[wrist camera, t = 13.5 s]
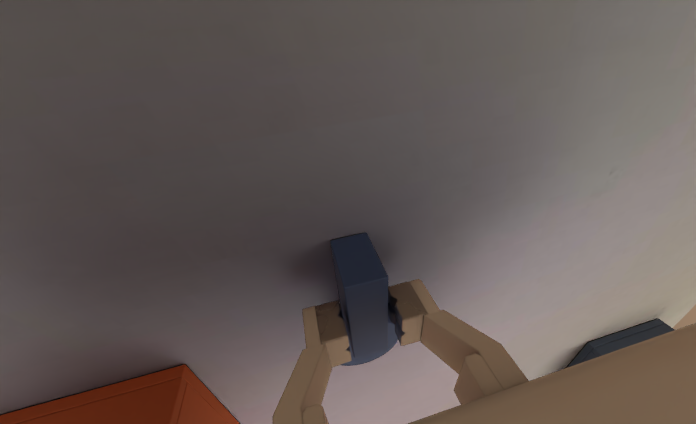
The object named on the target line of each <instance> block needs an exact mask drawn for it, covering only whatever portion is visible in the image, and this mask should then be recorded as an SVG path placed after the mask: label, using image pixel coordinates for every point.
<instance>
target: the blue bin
mask: <svg viewBox="0 0 696 424" xmlns="http://www.w3.org/2000/svg"><path fill="white" fill-rule="evenodd" d="M671 331H674V329H673V328H671V327H670V326H668V325H667V324H665V323H664V322H663V321H661V320H660V319H656V320H653V321H650V322H647V323H644V324H641V325H638V326H635V327H632V328H629V329H626V330H623V331H620V332H617V333H614V334H611V335H608V336H605V337H602V338H600V339H597V340H594V341H591V342H588V343H587V344H586V345H585V347H584V348H583V349H582V350H581V351H580V352H579V354H578V355H577V356H576V357H575V358H574V360H573V361H572V362H571V363H570V364H569V366H568V367H571V366H574V365H577V364H579V363H582V362H585V361H588V360H591V359H594V358H597V357H599V356H602V355H605V354H608V353H611V352H614V351H617V350H619V349H622V348H625V347H628V346H631V345H634V344H637V343H639V342H642V341H645V340H648V339H651V338H654V337H657V336H659V335H662V334H665V333H668V332H671ZM568 367H567V368H568Z"/></svg>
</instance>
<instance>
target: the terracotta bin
mask: <svg viewBox="0 0 696 424" xmlns="http://www.w3.org/2000/svg"><path fill="white" fill-rule="evenodd" d="M0 424H240V423H239V422H238V421H237V420H236V419H235V418H234V417H233V416H232V415H231V414H230V413H229V411H228V410H227V409H226V408H225V407H224V406H223V405H222V404H221V403H220V402H219V401H218V400H217V398H216V397H215V396H214V395H213V394H212V393H211V392H210V391H209V390H208V389H207V388H206V387H205V385H204V384H203V383H202V382H201V381H200V380H199V379H198V378H197V377H196V376H195V375H194V373H193V372H192V371H191V370H190V369H189V368H188V367H187V366H186V365H181V366H178V367H174V368H170V369H167V370H163V371H159V372H156V373H152V374H148V375H145V376H141V377H138V378H134V379H130V380H127V381H123V382H119V383H116V384H112V385H109V386H105V387H101V388H98V389H94V390H90V391H87V392H83V393H80V394H76V395H72V396H69V397H65V398H61V399H58V400H54V401H50V402H47V403H43V404H40V405H36V406H32V407H29V408H25V409H21V410H18V411H14V412H11V413H7V414H3V415H0Z"/></svg>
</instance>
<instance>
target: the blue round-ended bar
mask: <svg viewBox="0 0 696 424" xmlns="http://www.w3.org/2000/svg"><path fill="white" fill-rule="evenodd" d="M330 243H331V249H332V255H333V262H334V268H335V274H336V280H337V286H338V292H339V298H340V304H341V311H342V317H343V319H344V322H345V326H346V331H347V335H348V340H349V348H350V352H351V359H352V361H350V362H347V363H344V364H341V365H345V366H351V365H359V364H363V363H367V362H370V361H372V360H374V359H377V358H379V357H380V356H382V355H384V354H385V353H386V352H388V351H389V350H390V349H391V348H392V347H393V346H394V345H395V343H396V342H397V340H398V338H397V335H396V333H395V324H394V323H392V322H391V321H390V319H389V316H388V275H387V273H386V271H385V269H384V267H383V265H382V263H381V261H380V259H379V257H378V255H377V253H376V251H375V249H374V247H373V245H372V243H371V241H370V239H369V237H368V235H367V233H362V234H357V235H353V236H348V237H344V238H340V239H335V240H331V241H330Z"/></svg>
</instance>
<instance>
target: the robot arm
mask: <svg viewBox="0 0 696 424" xmlns="http://www.w3.org/2000/svg"><path fill="white" fill-rule="evenodd" d="M388 316H389V319H390V321H391V322H392V323H394V324H395V333H396V335H397V338H398V340H399V342H400V345H401V346H403V345H407V344H410V343H414V342H418V341H421V343H422V344H424V345H425V346H426V347H427V348H428V349H429V350H431V351H432V352H433V353H434V354H435V355H437V356H438V357H439V358H440V359H441V360H443V361H444V362H445V363H446V364H447V365H449V366H450V367H451V368H452V369H453V370H455V371H456V372H457V373H458V374H459V376H458V379H457V382H456V385H455V388H454V392H455V394H456V396H457V398H458V400H459V402H460V404H461V405H459V406H457V407H454V408H451V409H448V410H445V411H442V412H439V413H437V414H434V415H431V416H428V417H425V418H422V419H419V420H417V421H414V422H411V423H408V424H696V323H695V324H691V325H688V326H685V327H682V328H679V329H677V330H674V331H671V332H668V333H665V334H662V335H659V336H657V337H654V338H651V339H648V340H645V341H642V342H639V343H637V344H634V345H631V346H628V347H625V348H622V349H619V350H617V351H614V352H611V353H608V354H605V355H602V356H599V357H597V358H594V359H591V360H588V361H585V362H582V363H579V364H577V365H574V366H571V367H568V368H565V369H562V370H559V371H557V372H554V373H551V374H548V375H545V376H542V377H539V378H537V379H534V380H531V381H528V379H527V378H526V377H525V375H524V374H523V373H522V371H521V370H520V369H519V367H518V366H517V365H516V363H515V362H514V361H513V359H512V358H511V357H510V355H509V354H508V353H507V351H506V350H505V349H504V347H503V346H502V345H501V344H500V343H498V342H497V341H495V340H493V339H492V338H490V337H488V336H487V335H485V334H483V333H482V332H480V331H478V330H477V329H475V328H473V327H472V326H470V325H468V324H467V323H465V322H463V321H462V320H460V319H458V318H457V317H455V316H453V315H452V314H450V313H448V312H447V311H445V310H440V309H439V308H438V306H437V305H436V303H435V302H434V300H433V298H432V297H431V295H430V294H429V292H428V290H427V289H426V287H425V286H424V284H423V282H422V281H421V280H420V279H416V280H412V281H409V282H404V283H400V284H396V285H393V286H389V287H388ZM303 322H304V331H305V340H306V349H303V350H302V352H301V355H300V357H299V359H298V361H297V364H296V366H295V368H294V370H293V372H292V375H291V377H290V379H289V381H288V383H287V386H286V388H285V390H284V392H283V395H282V397H281V399H280V401H279V403H278V406H277V408H276V410H275V412H274V415H273V424H329V423H328V420H327V417H326V414H325V412H324V409H323V407H322V406H321V404H322V400H323V397H324V393H325V390H326V387H327V383H328V380H329V376H330V373H331V370H332V367H335V366H338V365H341V364H344V363H347V362H350V361H352V359H351V352H350V348H349V340H348V335H347V331H346V326H345V322H344V319H343V317H342V311H341V307H340V303H339V300H338V301H333V302H329V303H325V304H321V305H317V306H313V307H309V308H305V309H303Z"/></svg>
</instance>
